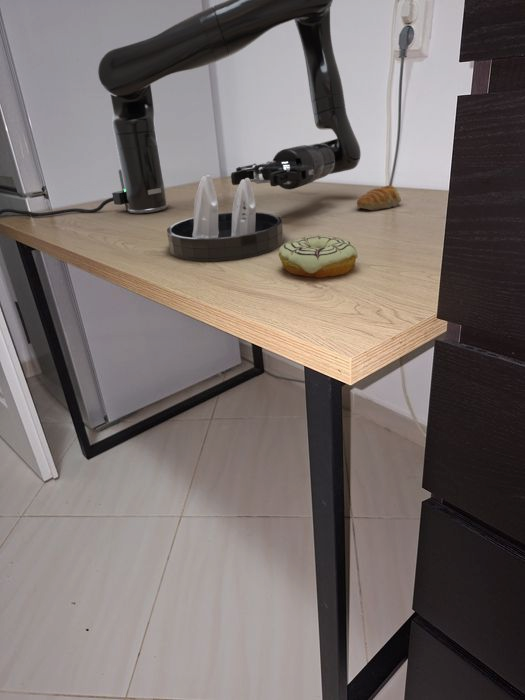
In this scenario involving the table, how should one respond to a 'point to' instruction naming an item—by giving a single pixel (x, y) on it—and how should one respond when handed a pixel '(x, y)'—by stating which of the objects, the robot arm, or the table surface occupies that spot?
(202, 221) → the shaker set
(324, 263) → the decorated donut
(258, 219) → the pan
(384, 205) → the pastry
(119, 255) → the table surface
